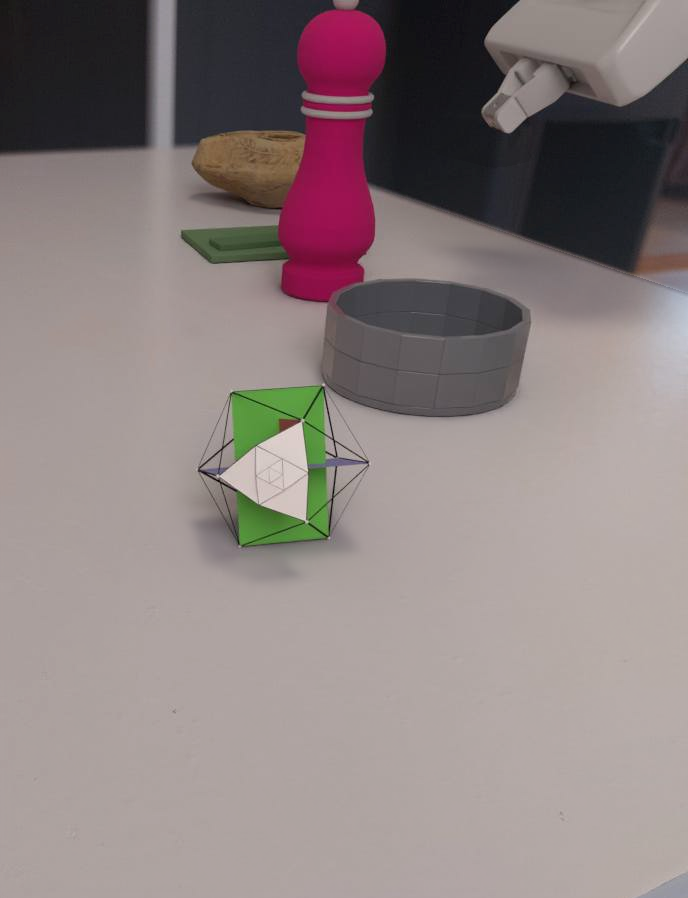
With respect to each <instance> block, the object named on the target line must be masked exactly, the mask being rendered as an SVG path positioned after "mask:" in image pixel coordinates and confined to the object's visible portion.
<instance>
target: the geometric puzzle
mask: <svg viewBox="0 0 688 898" xmlns="http://www.w3.org/2000/svg"><path fill="white" fill-rule="evenodd" d="M326 393H327V395H328V397H329V398H330V400H331V401H332V403H333V405H334V407H335V408H336V410H337V412H338V413H339V414H340V416H341V418H342V420H343V422H344V423H345V425H346V427H347V428H348V430H349V431H350V433H351V435H352V436H353V438H354V440H355V442H356V443H357V445H358V446H359V448H360V450H361V451H362V452H363V454H364V457H365V458H364V457H362V456H361V455H359V454H358V453H356V452H354V451H353V450H351V449H350V448H349V447H347V446H345V445H344V444H343V443H340V442H339V441H337V440H336V439H335V435H334V429H333V425H332V420H331V415H330V410H329V405H328V399H327V395H326ZM227 403H228V406H227V414H226V419H225V425H224V432H223V437H222V444H221V445H222V446H221V447H220V448H219V449H218V450H217V451H216V452H215V453H214V454H213V455H212V456H210V457H209V458H208V459H207V460H206V461H205V462H203V463H202V460H203V459H204V456H205V454H206V451H207V450H208V447H209V444H210V442H211V440H212V438H213V435H214V433H215V431H216V428H217V427H218V424H219V422H220V420H221V417H222V415H223V412H224V410H225V408H226V405H227ZM230 405H231V407H230ZM230 408H231V415H232V429H233V430H232V432H233V433H232V434H233V438H232V439H230V440H229V441H228V442H227V443H226V444H225V438H226V433H227V426H228V418H229V413H230ZM325 408H326V413H327V417H328V422H329V427H330V433H331V436H329V435H328V434H326V425H325V424H326V423H325V421H326V419H325ZM326 437H327V438H328V439H329V440H332V442H333V448H334V452H335V454H333V453H331V452H329V451H327V449H326V447H327V446H326ZM232 442H233V448H234V449H233V450H234V462H233V463H232V464H231V465H229V466H225V467H221V464H222V457H223V451H224V449H225V448H226V447H228V446H229V445H230V444H231V443H232ZM336 444H338V445H339V446H341V447H342V448H344V449H346V450H347V451H349V452H350V453H352V454H353V455H355V456H356V457H358V458H359V459H361V460H357V459H352V458H346V457H339V455H338V451H337V450H338V449H337V446H336ZM219 453H220V458H219V464H218V467H213V468H203V467H204V466H205V465H206V464H208V463H209V462H210V461H211V460H212V459H214V458H215V457H216V456H217V455H218V454H219ZM327 455H329V456H331V457H332V458H327ZM200 459H201V460H200V462H199V464H198V466H197V467H196V468H195V472H197V473H198V474H199V476H200V477H201V480H202V481H203V483H204V485H205V486H206V489H207V490H208V492H209V494H210V496H211V498H212V499H213V501H214V503H215V505H216V506H217V508H218V510H219V512H220V514H221V515H222V518H223V519H224V520H225V523H226V524H227V526H228V527H229V530H230V532H231V533H232V535H233V537H234V539H235V541H236V543H237V544H238V546H237V547H238V548H239V549H242V547H250V546H251V547H252V546H260V545H271V544H281V543H292V542H301V541H311V540H313V541H314V540H322V539H326V540H327V541H330V540H331V535H332V533H333V531H334V530H335V528H336V526H337V524H338V522H339V521H340V519H341V517H342V514H344V512H345V510H346V508H347V506H348V505H349V502H350V501H351V499H352V498H353V495H354V494H355V491H356V490H357V489H358V487H359V485H360V483H361V481H362V480H363V478H364V476H365V474H366V472H367V470H368V469H369V467H370V466H371V465H372V464H373V463H372V461H370V460H369V459H368V457H367V455H366V454H365V452H364V451H363V448H362V447H361V445H360V444H359V442H358V440H357V439H356V437H355V435H354V434H353V432H352V430H351V429H350V427H349V425H348V424H347V422H346V421H345V419H344V416H343V415H342V414H341V412H340V410H339V409H338V407H337V405H336V403H335V402H334V401H333V399H332V397H331V395H330V394H329V392H328V391H327V389H326V383H322V384H319V385H308V386H307V385H305V386H291V387H290V386H289V387H277V388H276V387H275V388H263V389H247V390H245V389H244V390H233V389H230V390H229V395H228V397H227V400H226V402H225V403H224V407H223V409H222V411H221V414H220V416H219V419H218V421H217V423H216V426H215V427H214V430H213V432H212V434H211V436H210V439H209V441H208V444H207V446H206V448H205V451H204V453H203V454H202V458H200ZM201 463H202V464H201ZM356 465H357V466H358V465H366V466H365V467H364V468H362V470H361V471H359V472H358V473H357V474H356V475H355V476H354V477H353V478H352V479H350V481H349V482H348V483H346V484H345V485H344V487H342V488H341V489H340V490H339V491H338V492H336V494H335V490H336V481H337V471H338V467H344V466H345V467H346V466H356ZM333 467H334V476H333V484H332V494H331V498H330V499H329V500H328V477H327V468H333ZM361 473H363V475H362V477H361V478H360V480H359V483H358V484H357V486H356V487H355V489H354V491H353V492H352V494H351V496H350V498H349V500H348V502H347V503H346V505H345V507H344V509H343V510H342V513H341V514H340V516H339V518H338V519H337V520H336V522H335V525H334V527H333V528H332V530H331V524H332V516H333V508H334V500H335V499H334V498H335V497H337V496H338V495H339V494H340V493H341V492H342V491H343V490H344V489H345V488H346V487H348V485H350V484H351V482H353V481H354V480H355V479H356V478H357V477H358V476H359V475H360V474H361ZM201 474H202V475H204V476H205V477H207V478H209V479H211V480H213V481H215V482H216V483H219V485H220V489H221V492H222V495H223V498H224V501H225V506H226V508H227V511H228V514H229V518H230V520H231V523H232V526H233V530H232V528H231V527H230V524H229V523H228V522H227V519H226V517H225V516H224V514H223V512H222V511H221V510H222V509H220V507H219V505H218V503H217V501H216V499H215V498H214V497H213V496H214V495H213V494H212V492H211V491H210V489H209V487H208V485H207V484H206V483H207V482H205V479H204V478H203V477H202V475H201ZM221 480H222V481H221ZM223 486H224V487H226V488H228V489H230V490H231V491H233V492H235V493H236V502H237V519H238V520H237V521H238V533H237V530H236V527H235V524H234V521H233V517H232V514H231V511H230V507H229V505H228V501H227V498H226V495H225V491H224V489H223ZM329 503H330V511H329V509H328V507H329V505H328V504H329ZM233 531H234V532H233ZM234 533H235V534H234Z"/></svg>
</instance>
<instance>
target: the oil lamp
mask: <svg viewBox="0 0 688 898" xmlns="http://www.w3.org/2000/svg"><path fill="white" fill-rule="evenodd" d="M305 137H306V133H305V134H304V133H302V132H299V131H294V130H293V131H291V130H237V131H236V130H235V131H228V132H221V133H218V134H214V135H211V136H207V137H205V138H201V139H200V140H199V143H198V146H197V149H196V151H195V153H194V155H193V158H192V160H191V166H192V168H193V170H194V171H195V172H196V173H197V175H199V177H201V178H202V179H203V180H204V182H206V183H207V184H209V185H210V186H213V187H215V188H217V189H221V190H223V191H226V192H228V193H232V194H234V195H237V196H239V197H240V198H242V199H244V200H245V201H246V202H247V204H248V203H249V204H250V205H252V206H254V207H255V206H256V207H260V208H266V209H267V208H268V209H279V208H282V207H283V204H284V201H285V199H286V196H287V194H288V192H289V190H290V187H291V185H292V183H293V181H294V179H295V176H296V174H297V171H298V169H299V166H300V162H301V159H302V155H303V150H304V144H305Z"/></svg>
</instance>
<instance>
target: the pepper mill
mask: <svg viewBox="0 0 688 898" xmlns="http://www.w3.org/2000/svg"><path fill="white" fill-rule="evenodd" d="M359 2H360V0H332V3H333V6H334V8H335V9H330V10H326V11H324V12H322V13H320V14H317V15H316V16H315V17H313V18H312V19H311V20H310V21H309V22H308V23H307V24H306V26H305V27H304V29H303V31H302V33H301V35H300V38H299V40H298V45H297V53H296V59H297V60H296V63H297V66H298V70H299V72H300V74H301V76H302V78H303V79H304V81H305V83H306V87H307V89H305V90H303V91H302V93H301V98H302V99H303V100H302V106H301V107H300V112H301V113H302V115H305V135H306V137H305V144H304V150H303V155H302V159H301V162H300V166H299V169H298V171H297V174H296V176H295V179H294V181H293V183H292V185H291V187H290V190H289V192H288V194H287V196H286V199H285V201H284V204H283V207H281V210H280V214H279V219H278V220H279V221H278V224H277V225H278V238H279V241H280V243H281V245H282V247H283V248H284V249H285V251H286V252H287V253H288V255H289V257H290V258H289V259H288V260H286V261H284V262H283V263H282V265H281V279H280V288H281V290H282V291H283V292H284V293H285V294H286V295H288V296H291V297H294V298H296V299H301V300H306V301H312V302H328V301H329V299H330V297H331V295H332V293H333V292H334V291H337V290H339V289H341V288H343V287H346V286H348V285H350V284H354V283H360V282H365V281H364V279H365V268H364V266H363V265H362V264H361V263H359V261H360V260H361V258H362V257H363V256H364V255H366V254H367V253H368V251H370V249H371V248H372V246H373V244H374V241H375V239H376V238H375V237H376V213H375V206H374V202H373V198H372V195H371V191H370V189H369V185H368V180H367V176H366V172H365V164H364V163H365V162H364V135H365V128H366V122H367V118H369V117H371V116H372V115H373V114H374V113H373V109H372V105H373V103H372V102H373V101H374V99H375V95H374V94H373V93H372V92H370V89H371V87H372V85H373V84H374V82H375V81H376V80H377V79H378V78H379V76H380V75H381V73H382V72H383V70H384V68H385V63H386V55H387V45H386V40H385V35H384V31H383V30H382V28H381V25H380V24H379V23H378V22H377V20H375V19H374V17H372V16H370V15H369V14H367V13H365V12H364V11H360V10H356V8H357V6H358V5H359ZM365 253H366V254H365Z"/></svg>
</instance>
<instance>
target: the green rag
mask: <svg viewBox="0 0 688 898" xmlns="http://www.w3.org/2000/svg"><path fill="white" fill-rule="evenodd" d="M278 225H279V224H273V225H254V226H237V227H236V226H235V227H217V228H216V227H215V228H196V229H195V228H194V229H181V230H180V237H181V239H183V240H184V241H185V242H187V243H188V245H190V246H191V247H192V248H193V249H194V250H196V251H197V252H198V253H199V254H200V255H202V256H203V257H204V258H205V259H206V260H207V261H208V262H210V263H211V264H220V263H234V262H235V263H236V262H253V261H254V262H255V261H269V260H286V259H288V260H289V259H290V257H289V255H288V253H287V252H286V251H285V249H284V248H283V247H282V245H281V243H280V241H279V238H278ZM366 254H367V252H366V253H365V254H364V255H366Z"/></svg>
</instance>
